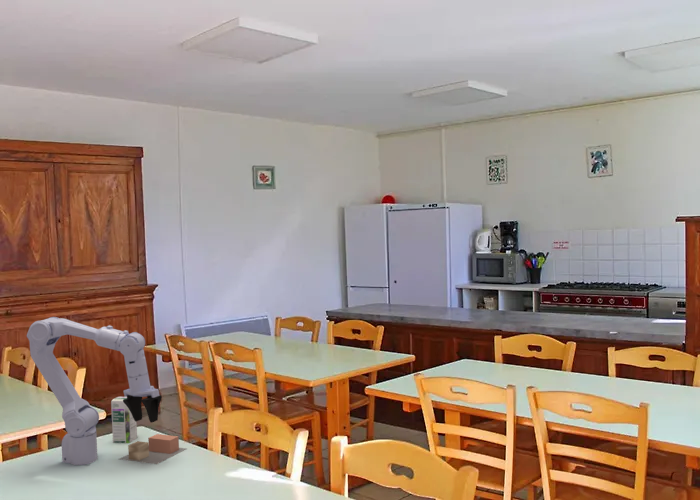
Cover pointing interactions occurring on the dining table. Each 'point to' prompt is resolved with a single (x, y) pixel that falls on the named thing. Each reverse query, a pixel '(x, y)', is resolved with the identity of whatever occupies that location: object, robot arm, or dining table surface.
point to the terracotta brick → (163, 443)
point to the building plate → (154, 457)
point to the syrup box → (122, 422)
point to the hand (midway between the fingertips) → (146, 420)
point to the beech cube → (138, 450)
